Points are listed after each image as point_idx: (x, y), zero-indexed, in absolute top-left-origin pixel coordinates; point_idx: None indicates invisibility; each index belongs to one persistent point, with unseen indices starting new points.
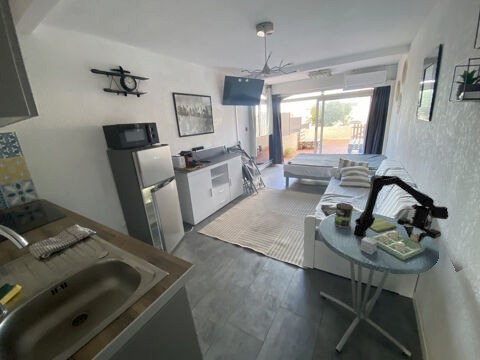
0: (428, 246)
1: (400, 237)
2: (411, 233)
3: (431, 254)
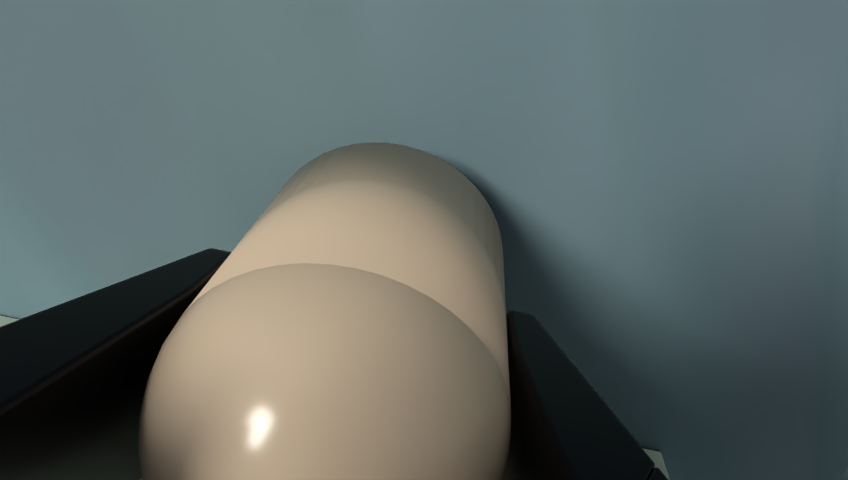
0: (738, 78)
1: None
2: (115, 384)
3: (807, 432)
